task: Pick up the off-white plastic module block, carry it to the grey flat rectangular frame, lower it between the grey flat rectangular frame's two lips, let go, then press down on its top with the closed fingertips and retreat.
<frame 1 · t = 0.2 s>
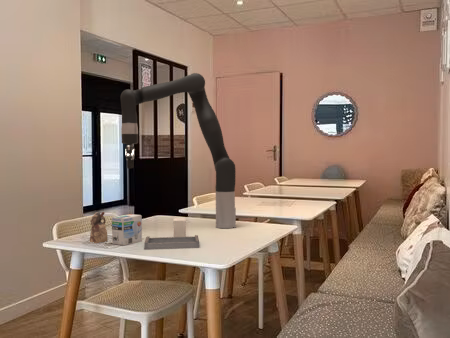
hand: (130, 168, 203), 29 cm above the table, tool pointing down, fingers open, 8 cm apart
grey flat rectangular frame: (172, 245, 169), on the table
light bulb box: (127, 243, 175), on the table
figurine: (98, 241, 177), on the table
module: (179, 238, 183), on the table
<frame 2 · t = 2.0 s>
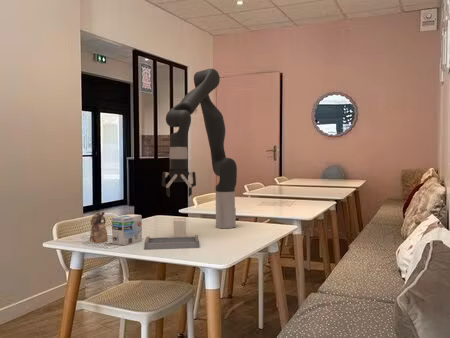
hand: (179, 196, 182), 17 cm above the table, tool pointing down, fingers open, 8 cm apart
nothing on the table moved.
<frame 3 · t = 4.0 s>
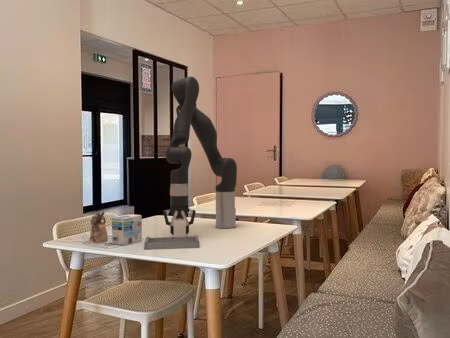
hand: (179, 234, 183), 1 cm above the table, tool pointing down, fingers closed on module, 5 cm apart
module: (179, 238, 183), on the table, touching gripper
everything else where it was.
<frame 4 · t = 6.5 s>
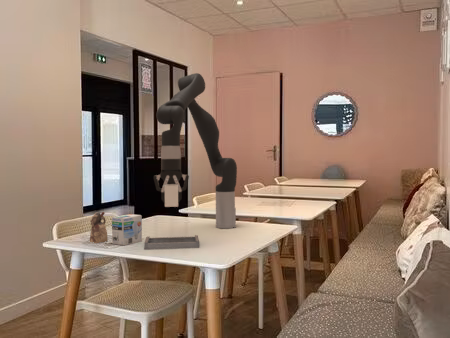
hand: (171, 201, 168), 17 cm above the table, tool pointing down, fingers closed on module, 5 cm apart
module: (171, 205, 168), point 15 cm above the table, touching gripper
everything else where it was.
when the fingers open (3 cm above the table, at t = 9.0 s): module drops 1 cm, resting in grey flat rectangular frame.
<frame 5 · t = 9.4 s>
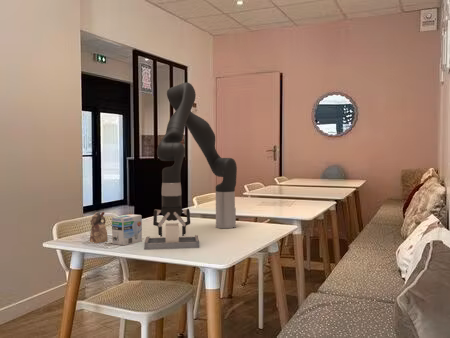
hand: (172, 236, 168), 4 cm above the table, tool pointing down, fingers open, 8 cm apart
module: (172, 245, 169), resting in grey flat rectangular frame
everything else where it was.
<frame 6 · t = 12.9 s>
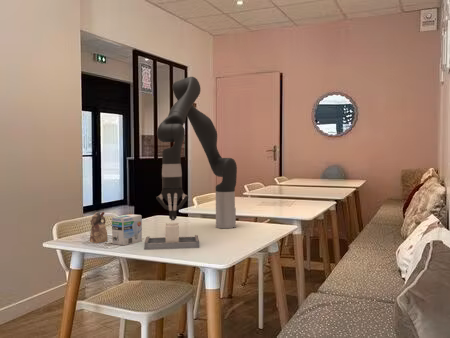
hand: (172, 220, 169), 10 cm above the table, tool pointing down, fingers closed
nothing on the table moved.
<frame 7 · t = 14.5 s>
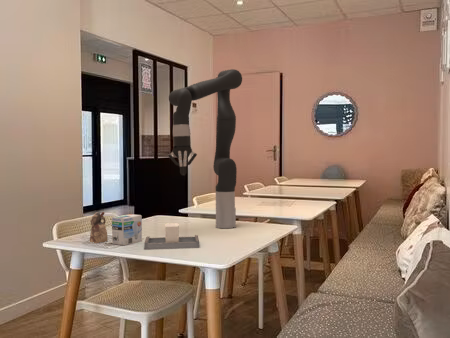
hand: (183, 175, 190), 26 cm above the table, tool pointing down, fingers closed
nothing on the table moved.
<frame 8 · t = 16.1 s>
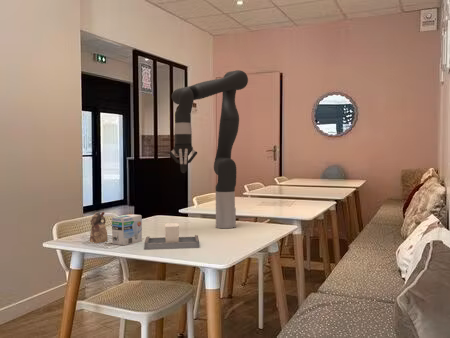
hand: (183, 172, 192), 27 cm above the table, tool pointing down, fingers closed
nothing on the table moved.
at the end: module inside the target area (0.1 cm from its centre), resting in grey flat rectangular frame; module tilted 0°; the gripper is holding nothing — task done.
